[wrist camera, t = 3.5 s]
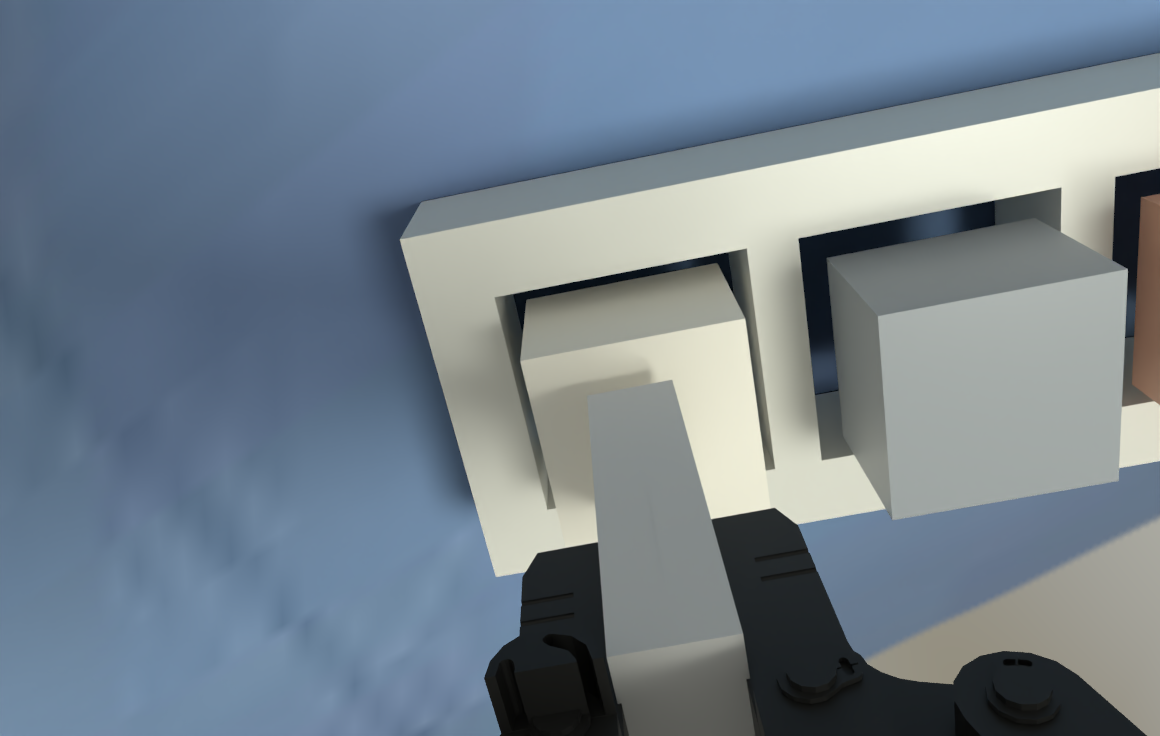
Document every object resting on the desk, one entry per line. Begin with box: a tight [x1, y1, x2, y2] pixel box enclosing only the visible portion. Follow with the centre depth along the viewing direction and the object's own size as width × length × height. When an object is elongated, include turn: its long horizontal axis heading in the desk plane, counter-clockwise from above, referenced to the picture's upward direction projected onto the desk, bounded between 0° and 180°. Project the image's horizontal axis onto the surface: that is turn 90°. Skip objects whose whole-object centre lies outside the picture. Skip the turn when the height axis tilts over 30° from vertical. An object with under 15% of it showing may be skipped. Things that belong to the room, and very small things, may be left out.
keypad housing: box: [400, 53, 1160, 577], centre depth 20 cm, size 20×8×3 cm, turn 101°
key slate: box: [827, 218, 1128, 520], centre depth 17 cm, size 4×4×3 cm
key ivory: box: [520, 263, 771, 547], centre depth 18 cm, size 4×4×3 cm
